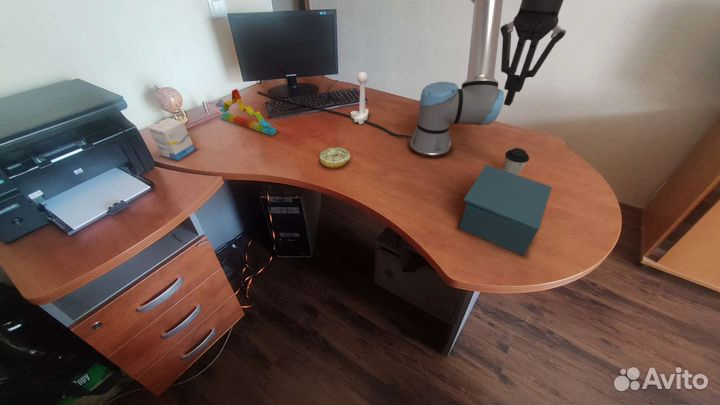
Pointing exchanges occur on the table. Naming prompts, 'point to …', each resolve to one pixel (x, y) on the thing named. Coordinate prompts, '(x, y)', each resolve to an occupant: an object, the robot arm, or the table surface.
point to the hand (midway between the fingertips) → (508, 103)
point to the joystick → (361, 100)
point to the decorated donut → (334, 157)
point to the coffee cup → (515, 160)
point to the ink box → (172, 138)
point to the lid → (510, 196)
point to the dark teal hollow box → (497, 229)
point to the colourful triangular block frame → (261, 126)
